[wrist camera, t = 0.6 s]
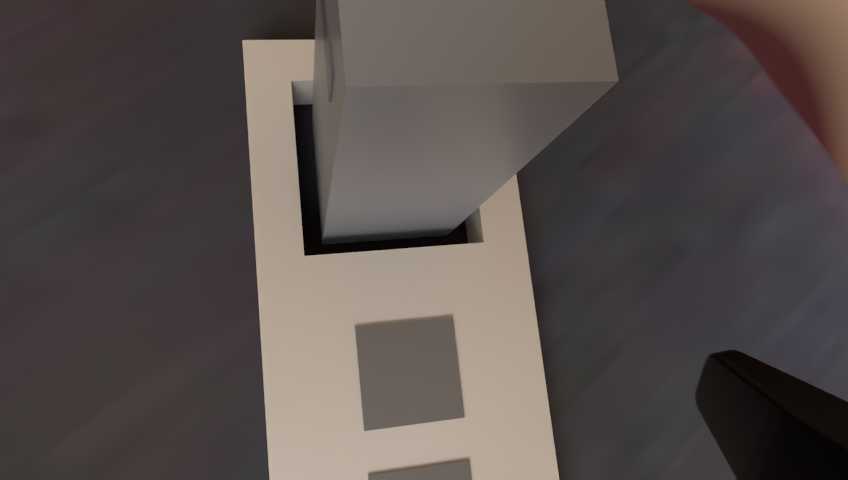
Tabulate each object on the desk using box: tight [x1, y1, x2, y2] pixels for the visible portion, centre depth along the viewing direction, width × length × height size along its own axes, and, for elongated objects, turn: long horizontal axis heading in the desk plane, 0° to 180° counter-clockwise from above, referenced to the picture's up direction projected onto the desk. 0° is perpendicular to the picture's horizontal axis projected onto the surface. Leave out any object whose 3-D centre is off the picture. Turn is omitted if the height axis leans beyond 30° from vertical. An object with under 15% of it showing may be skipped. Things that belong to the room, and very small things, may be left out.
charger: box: [312, 0, 619, 245], centre depth 17 cm, size 5×5×13 cm
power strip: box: [242, 40, 559, 480], centre depth 20 cm, size 22×9×3 cm, turn 6°
